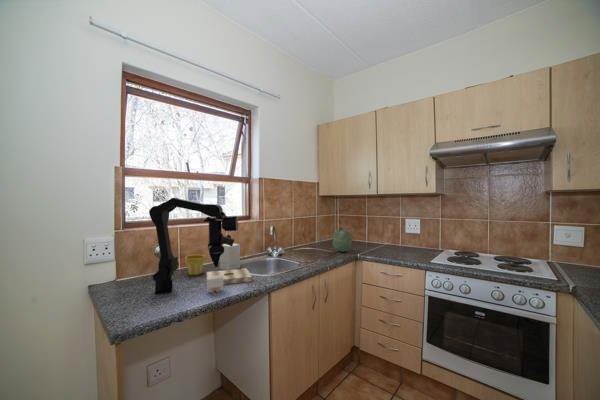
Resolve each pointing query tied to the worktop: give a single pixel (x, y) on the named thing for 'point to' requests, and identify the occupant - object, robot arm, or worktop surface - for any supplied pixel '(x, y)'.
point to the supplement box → (230, 257)
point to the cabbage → (342, 240)
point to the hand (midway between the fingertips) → (215, 264)
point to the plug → (215, 282)
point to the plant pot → (195, 264)
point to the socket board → (233, 275)
